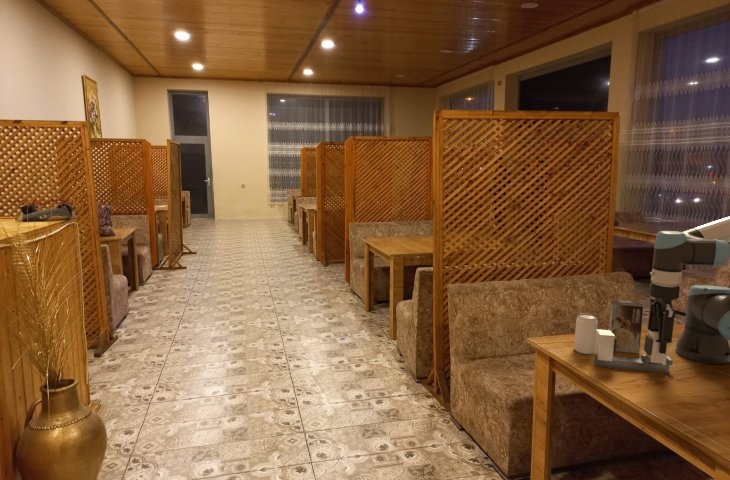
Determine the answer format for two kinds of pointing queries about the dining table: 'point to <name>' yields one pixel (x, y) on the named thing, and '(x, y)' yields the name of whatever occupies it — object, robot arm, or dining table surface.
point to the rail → (605, 358)
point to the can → (585, 333)
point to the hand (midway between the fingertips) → (656, 358)
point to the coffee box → (626, 324)
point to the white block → (651, 345)
